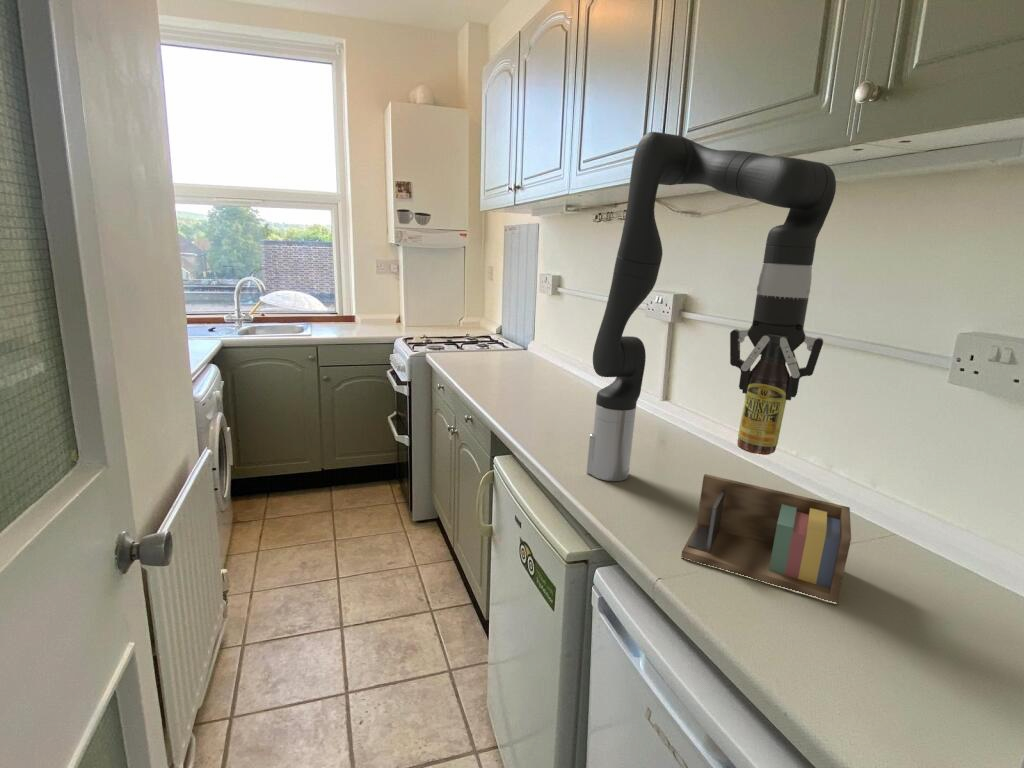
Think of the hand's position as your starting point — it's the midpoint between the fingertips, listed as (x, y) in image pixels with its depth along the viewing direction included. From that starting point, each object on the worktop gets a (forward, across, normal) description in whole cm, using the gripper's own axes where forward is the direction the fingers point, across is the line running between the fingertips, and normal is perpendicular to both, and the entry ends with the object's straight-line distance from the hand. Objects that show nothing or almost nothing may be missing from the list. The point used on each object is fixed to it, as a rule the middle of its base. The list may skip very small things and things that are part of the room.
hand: (766, 395), depth 93 cm
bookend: (+28, +7, 0) cm, 29 cm away
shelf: (+30, -3, 0) cm, 30 cm away
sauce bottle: (+10, 0, 0) cm, 10 cm away
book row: (+28, -9, 0) cm, 30 cm away
